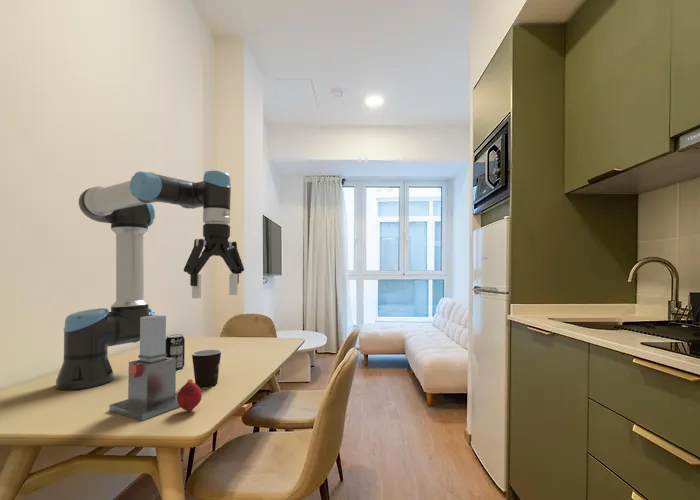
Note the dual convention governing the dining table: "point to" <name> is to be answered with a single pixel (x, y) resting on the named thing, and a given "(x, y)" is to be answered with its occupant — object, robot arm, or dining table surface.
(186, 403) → the onion
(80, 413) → the dining table surface
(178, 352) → the beverage can
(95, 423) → the dining table surface
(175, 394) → the stand
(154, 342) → the column
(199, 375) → the coffee mug
